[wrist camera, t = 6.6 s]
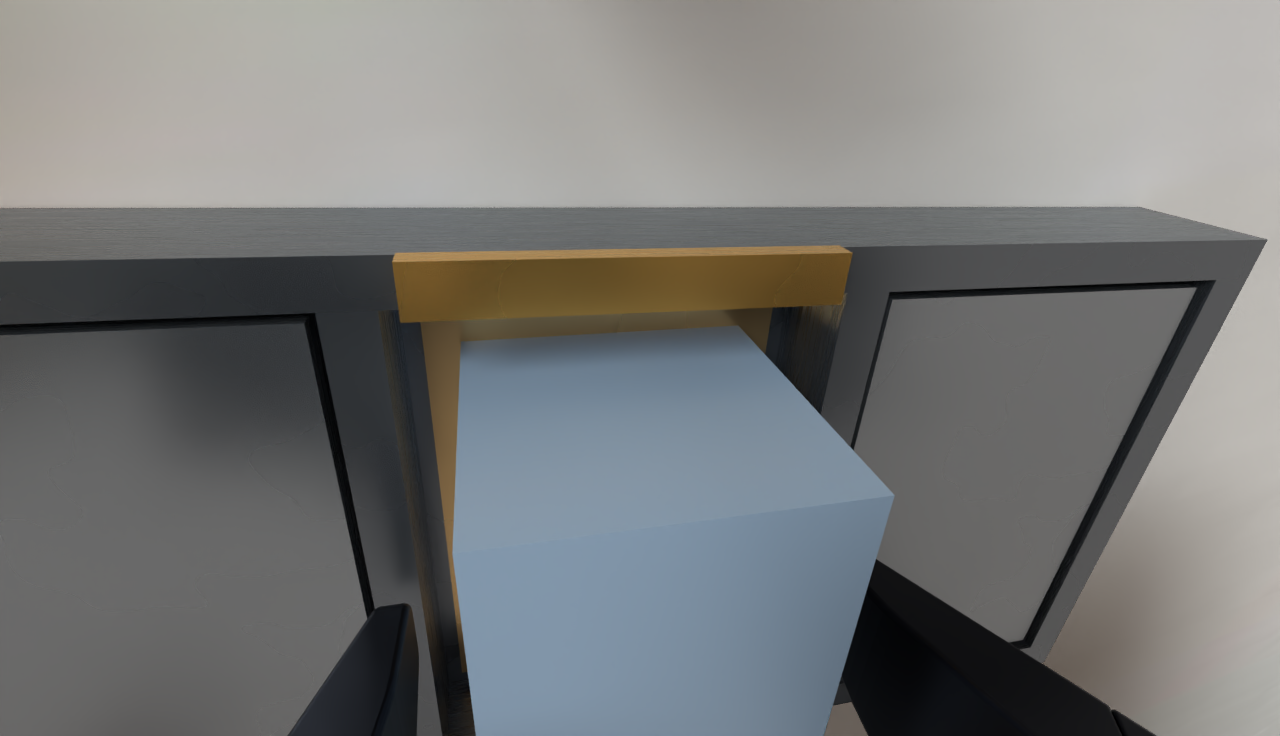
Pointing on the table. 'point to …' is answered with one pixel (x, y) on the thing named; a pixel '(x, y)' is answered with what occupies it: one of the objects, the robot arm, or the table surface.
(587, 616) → the pale blue box
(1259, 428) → the table surface
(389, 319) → the cabinet
